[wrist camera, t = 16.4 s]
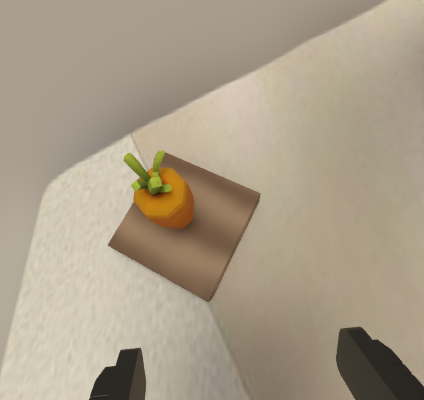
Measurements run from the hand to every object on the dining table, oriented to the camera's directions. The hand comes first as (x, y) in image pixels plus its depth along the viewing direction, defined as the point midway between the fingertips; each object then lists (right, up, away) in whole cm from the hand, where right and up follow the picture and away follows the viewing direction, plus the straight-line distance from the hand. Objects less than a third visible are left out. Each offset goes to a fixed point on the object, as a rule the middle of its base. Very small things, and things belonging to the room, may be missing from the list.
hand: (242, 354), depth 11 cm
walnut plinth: (-4, +3, +25) cm, 26 cm away
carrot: (-4, +4, +23) cm, 23 cm away
